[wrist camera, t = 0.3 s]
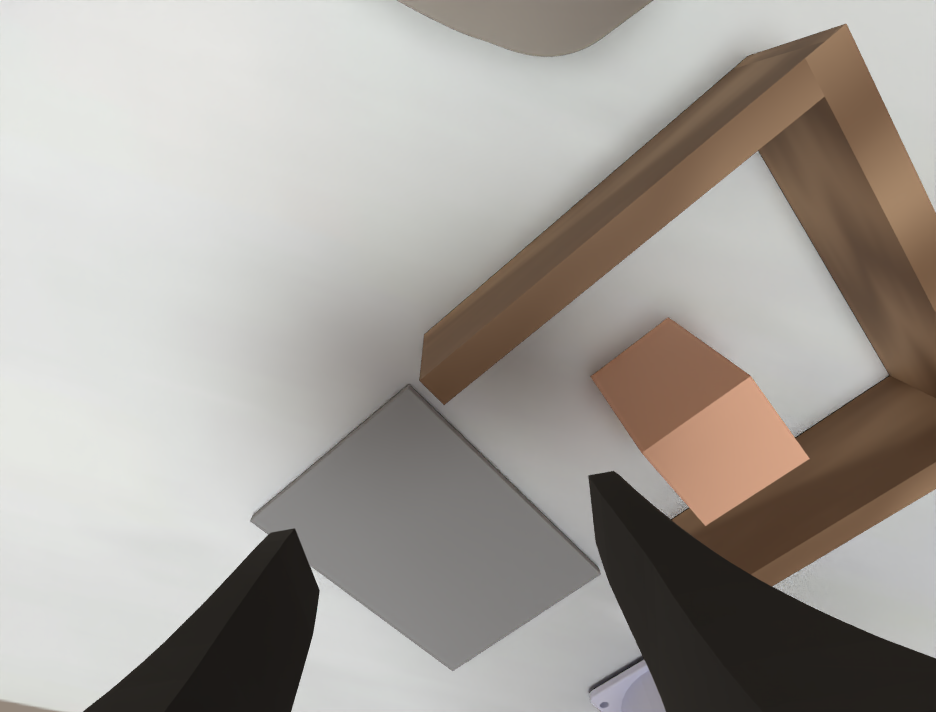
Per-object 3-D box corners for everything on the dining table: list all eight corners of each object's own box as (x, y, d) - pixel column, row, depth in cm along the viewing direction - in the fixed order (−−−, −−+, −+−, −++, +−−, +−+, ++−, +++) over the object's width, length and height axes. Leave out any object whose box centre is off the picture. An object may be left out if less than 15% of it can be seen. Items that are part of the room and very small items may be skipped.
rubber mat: (598, 568, 26) (600, 574, 25) (452, 664, 28) (452, 671, 27) (408, 384, 21) (408, 388, 21) (252, 515, 23) (250, 521, 23)
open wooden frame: (925, 377, 22) (1037, 428, 18) (643, 560, 25) (683, 639, 21) (748, 56, 17) (846, 23, 13) (424, 334, 20) (419, 380, 16)
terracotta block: (716, 382, 22) (809, 458, 16) (641, 435, 23) (705, 526, 17) (668, 317, 21) (750, 376, 15) (590, 376, 22) (641, 452, 16)
